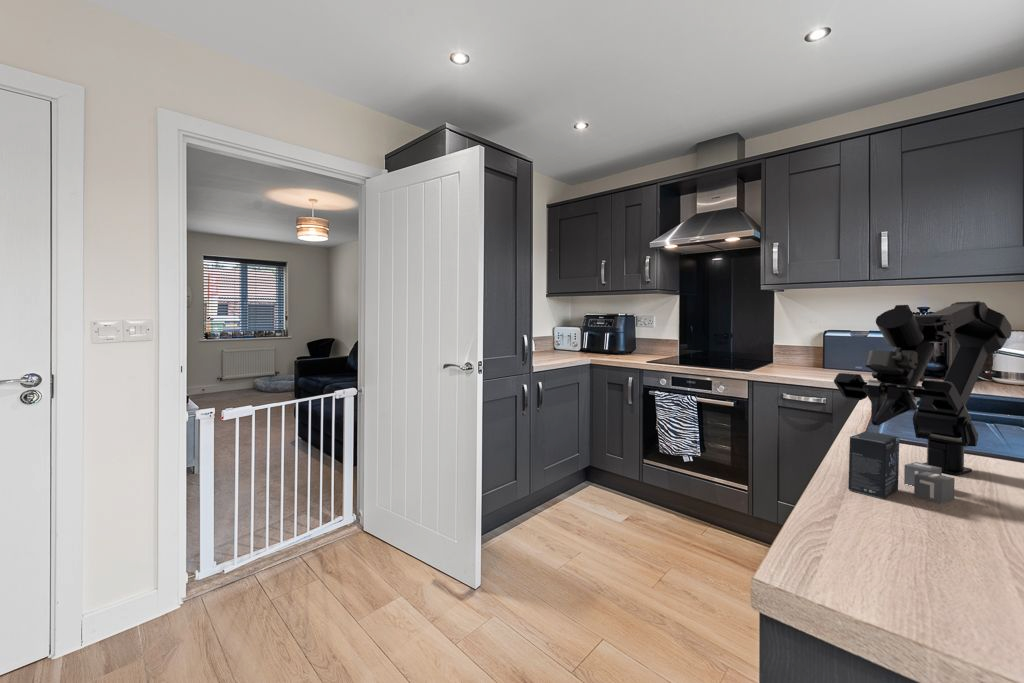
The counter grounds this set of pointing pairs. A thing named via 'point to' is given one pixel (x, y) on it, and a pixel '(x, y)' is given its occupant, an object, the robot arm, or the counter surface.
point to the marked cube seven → (934, 487)
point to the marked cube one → (918, 471)
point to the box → (874, 464)
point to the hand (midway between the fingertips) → (874, 423)
